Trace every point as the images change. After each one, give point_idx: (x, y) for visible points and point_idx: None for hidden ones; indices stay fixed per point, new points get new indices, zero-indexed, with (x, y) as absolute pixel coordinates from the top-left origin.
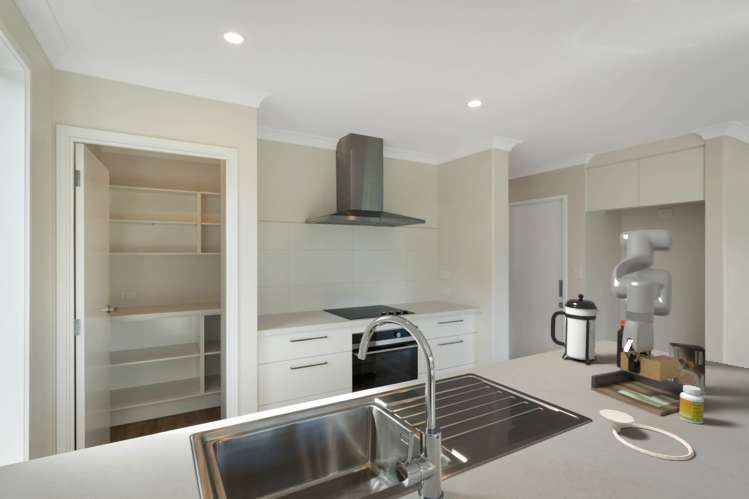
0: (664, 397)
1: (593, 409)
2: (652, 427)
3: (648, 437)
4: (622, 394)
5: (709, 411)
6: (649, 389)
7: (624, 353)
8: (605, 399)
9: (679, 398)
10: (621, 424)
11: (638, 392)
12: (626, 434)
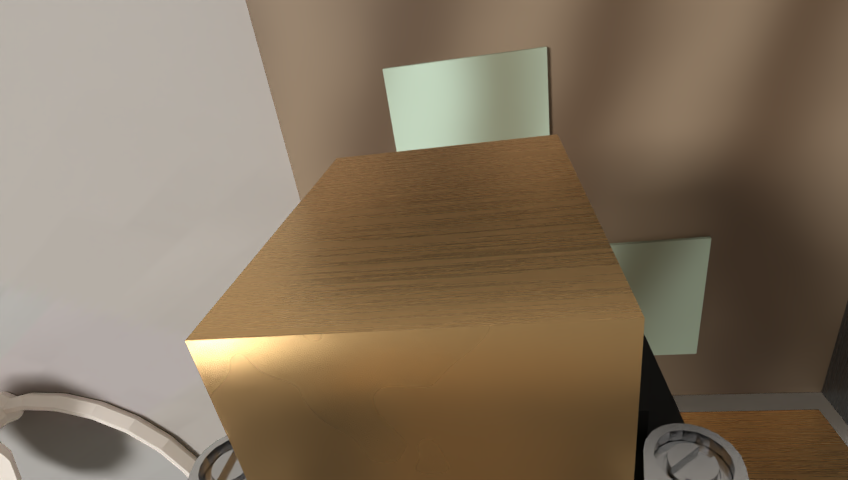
0: (665, 283)
1: (10, 220)
2: (170, 461)
3: (116, 468)
4: (376, 131)
5: None
6: (789, 107)
7: (228, 412)
8: (202, 116)
9: (774, 320)
10: (37, 408)
11: (576, 137)
12: (37, 432)
